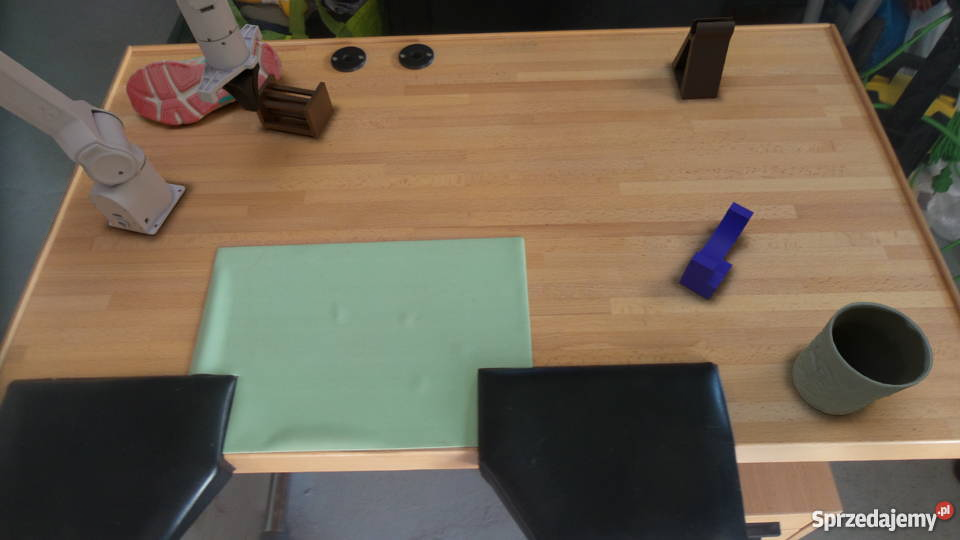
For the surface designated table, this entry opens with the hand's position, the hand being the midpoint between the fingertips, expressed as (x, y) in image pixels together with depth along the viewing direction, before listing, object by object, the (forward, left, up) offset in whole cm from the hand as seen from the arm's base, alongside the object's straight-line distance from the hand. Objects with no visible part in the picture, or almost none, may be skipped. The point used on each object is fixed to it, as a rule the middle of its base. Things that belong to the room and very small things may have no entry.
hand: (252, 108), depth 86 cm
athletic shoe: (+9, +15, -10) cm, 20 cm away
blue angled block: (-5, -71, -10) cm, 72 cm away
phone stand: (+33, -66, -10) cm, 74 cm away
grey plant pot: (-20, -85, -10) cm, 88 cm away
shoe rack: (+8, -1, -9) cm, 12 cm away
